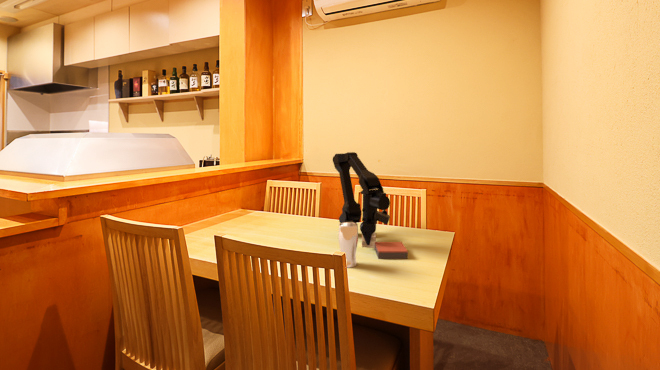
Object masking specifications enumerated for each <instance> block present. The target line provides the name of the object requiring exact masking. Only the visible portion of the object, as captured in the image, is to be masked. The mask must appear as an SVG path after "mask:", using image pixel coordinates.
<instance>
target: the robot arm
mask: <svg viewBox="0 0 660 370" xmlns="http://www.w3.org/2000/svg"><path fill="white" fill-rule="evenodd" d="M332 164H333V166H334V169H335V170H336V171H337V172H338V174H339V180H340V185H341V186H340V187H341V190H342V195H343V196H342V198H343V201H344V202H343V204H342V205H343V206H342V208H341V212H342V213H341V214H340V216H339V217H338V220H339V221H338V222H339V224H340V223H343V222H354V223H357V224H358V223H360V222H361V223H360V225H359V231H360V232H361V236H362V235H363V237H364V239H365V242H366V244H367V245H370V241H371V236H372V234H373V233H376V232H377V231H376V230H377V224H378V222H380V223H383V225H386V226H387V225H388V223H389V221H390V219H391V218H390V217H391V215H389V214H388V209H389V208H390V204H391V201H390V198H389V197H388V196H387V192H385V191H384V188H383V186H382V183H381V181H380V179H379V177H378V176H377V175H376V174H375V172H372V171H370V170H368V168H367V167H366V165H365V164H364V162H362V160H361V159H360V158H359V156H358V153H357V152H353V151H352V152H351V151H350V152H345V153H335V154H334V156H333V157H332ZM351 168H352V170H353V171H354V173H355V174H356V176H357V178H358V184H359V186H360V188H361V189H362V190H361V191H360V195H362V207H361V204H360V203H359V202H357V201H356V199H355V195H354V194H355V193H354V188H353V182H352V178H351V172H350V170H351ZM361 208H362V210H361ZM378 210H381V211H378ZM361 217H362V218H361Z"/></svg>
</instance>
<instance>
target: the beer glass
mask: <svg viewBox="0 0 660 370" xmlns="http://www.w3.org/2000/svg"><path fill="white" fill-rule="evenodd" d="M358 225H359V224H358V222H357V223H354V222H343V223H340V222H339V224H338V243H339V248H340V249H339V250H340V253H341V252H345V253H346V259H347V267H348V268H355V267H356V266H357V263H358V262H357V260H356V259H357V258H356V257H357V256H356V254H357V247H358V241H359V227H358Z"/></svg>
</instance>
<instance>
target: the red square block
mask: <svg viewBox="0 0 660 370" xmlns="http://www.w3.org/2000/svg"><path fill="white" fill-rule="evenodd" d="M374 252H375V253H376V256H377V259H378V260H408V257H409V256H408V252H409V251H408V249H407V248H406V246H405V245H404V243H403V242H402V241H376V242H375V248H374Z"/></svg>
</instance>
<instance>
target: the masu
mask: <svg viewBox="0 0 660 370" xmlns="http://www.w3.org/2000/svg"><path fill="white" fill-rule="evenodd" d="M375 242H377V232H374V233H373V234H372V236H371V241H370V245H367V244H366V242H365V239H364V237H363V235H362V234H361V247H362V248H370V249H372V248H373V249H375Z"/></svg>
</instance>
